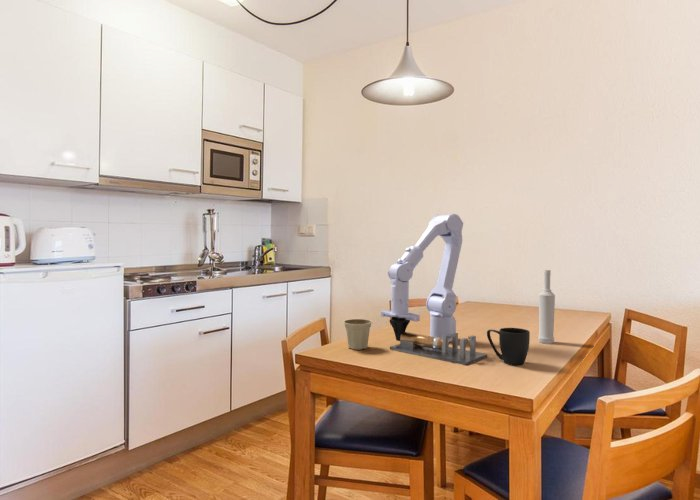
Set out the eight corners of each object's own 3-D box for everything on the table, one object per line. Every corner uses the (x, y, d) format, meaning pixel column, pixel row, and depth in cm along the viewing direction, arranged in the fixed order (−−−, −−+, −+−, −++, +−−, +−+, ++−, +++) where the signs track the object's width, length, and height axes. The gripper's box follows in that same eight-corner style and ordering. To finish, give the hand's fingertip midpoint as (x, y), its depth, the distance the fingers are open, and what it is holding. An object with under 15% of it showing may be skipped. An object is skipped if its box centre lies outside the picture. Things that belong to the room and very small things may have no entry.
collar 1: (454, 352, 146) (454, 332, 145) (457, 353, 145) (457, 333, 145) (441, 357, 140) (442, 336, 140) (445, 358, 139) (445, 336, 139)
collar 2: (471, 356, 142) (472, 335, 141) (475, 357, 141) (475, 335, 141) (459, 361, 136) (460, 339, 136) (463, 361, 135) (463, 339, 135)
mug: (492, 355, 142) (493, 324, 142) (533, 362, 135) (533, 330, 135) (481, 361, 136) (482, 328, 136) (523, 368, 128) (524, 334, 128)
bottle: (555, 344, 158) (557, 270, 158) (539, 343, 159) (540, 270, 159) (552, 341, 163) (553, 269, 163) (536, 340, 164) (537, 269, 164)
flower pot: (347, 352, 146) (347, 324, 146) (340, 345, 155) (340, 319, 155) (375, 350, 148) (376, 323, 148) (367, 343, 158) (367, 318, 157)
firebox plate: (413, 342, 159) (413, 335, 159) (487, 356, 141) (487, 348, 141) (389, 349, 150) (390, 341, 150) (466, 365, 132) (466, 356, 132)
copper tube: (399, 343, 153) (400, 332, 153) (406, 341, 156) (406, 330, 155) (442, 352, 142) (442, 339, 142) (448, 349, 145) (448, 338, 145)
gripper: (375, 298, 157) (375, 338, 157) (410, 303, 147) (410, 345, 147) (388, 296, 162) (387, 335, 162) (423, 300, 152) (423, 342, 153)
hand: (399, 340), depth 155 cm, fingers closed
